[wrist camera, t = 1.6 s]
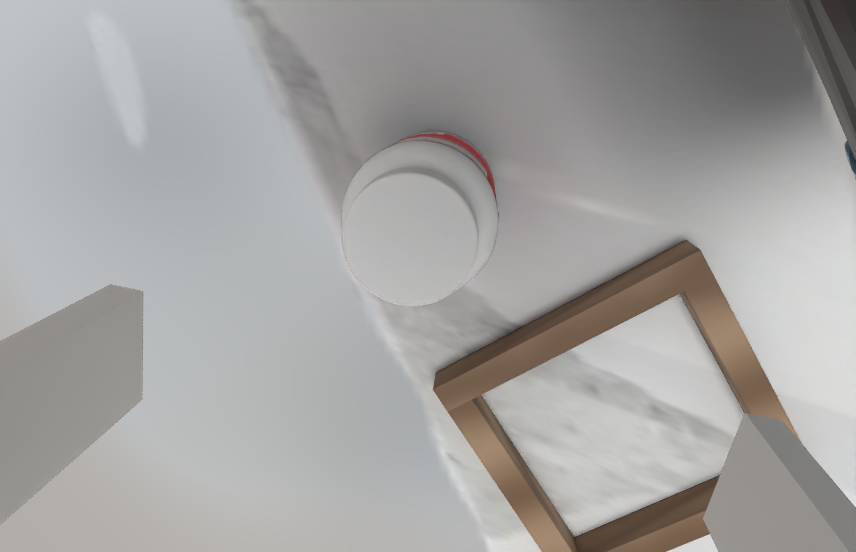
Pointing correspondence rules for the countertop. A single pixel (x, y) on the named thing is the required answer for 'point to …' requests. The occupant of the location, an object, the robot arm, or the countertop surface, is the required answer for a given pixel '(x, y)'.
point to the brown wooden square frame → (571, 326)
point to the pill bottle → (420, 219)
